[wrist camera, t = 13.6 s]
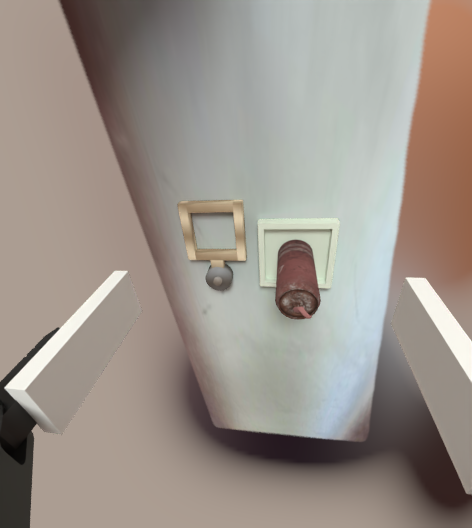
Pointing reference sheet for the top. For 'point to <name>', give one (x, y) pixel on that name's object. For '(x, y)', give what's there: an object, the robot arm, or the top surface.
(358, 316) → the top surface
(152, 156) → the top surface
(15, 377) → the robot arm
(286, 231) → the tray
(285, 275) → the can
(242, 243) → the collar block
